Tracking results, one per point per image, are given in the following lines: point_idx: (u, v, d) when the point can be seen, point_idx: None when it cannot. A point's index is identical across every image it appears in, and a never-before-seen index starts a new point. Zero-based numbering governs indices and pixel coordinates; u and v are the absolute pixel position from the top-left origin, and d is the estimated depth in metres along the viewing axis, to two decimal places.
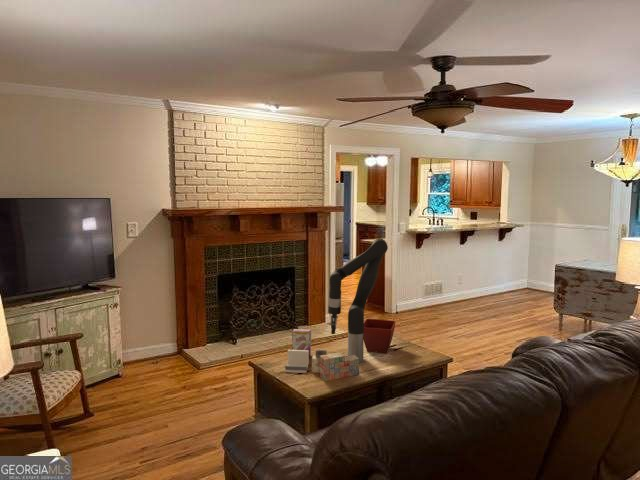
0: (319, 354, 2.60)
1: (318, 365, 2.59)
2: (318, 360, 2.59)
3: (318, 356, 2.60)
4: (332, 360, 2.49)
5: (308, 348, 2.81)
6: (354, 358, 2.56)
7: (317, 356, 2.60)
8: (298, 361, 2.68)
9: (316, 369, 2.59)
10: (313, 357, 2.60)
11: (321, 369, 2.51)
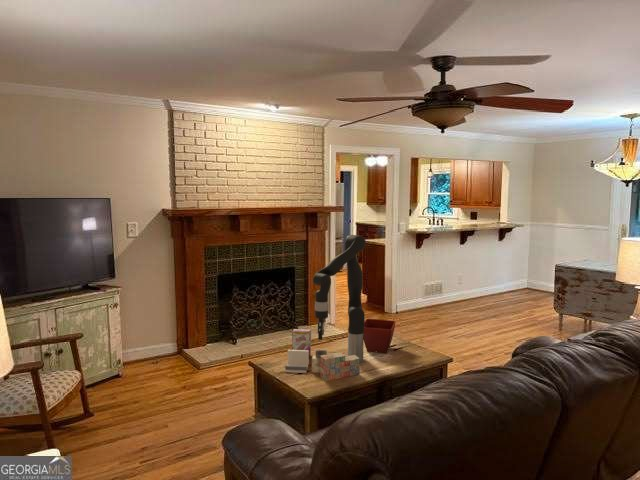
0: (319, 354, 2.60)
1: (318, 365, 2.59)
2: (318, 360, 2.59)
3: (318, 356, 2.60)
4: (333, 360, 2.49)
5: (308, 348, 2.81)
6: (354, 358, 2.56)
7: (317, 356, 2.60)
8: (298, 361, 2.68)
9: (316, 369, 2.59)
10: (313, 357, 2.60)
11: (322, 369, 2.51)
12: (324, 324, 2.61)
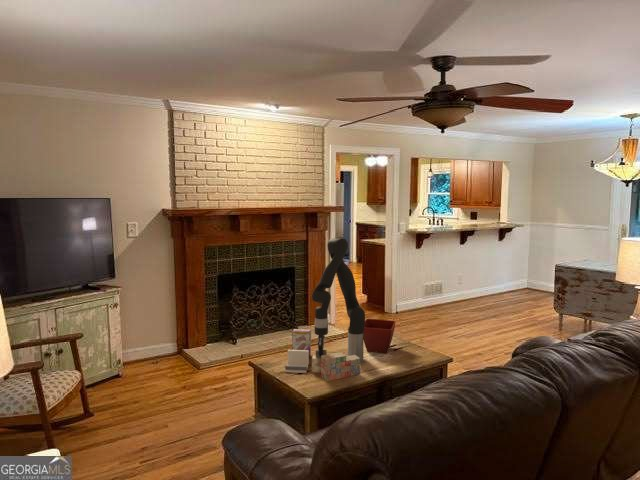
0: None
1: (318, 365, 2.59)
2: (318, 360, 2.59)
3: (318, 356, 2.60)
4: (334, 360, 2.49)
5: (308, 348, 2.81)
6: (355, 358, 2.56)
7: (317, 356, 2.60)
8: (298, 361, 2.68)
9: (316, 369, 2.59)
10: (313, 357, 2.60)
11: (322, 369, 2.51)
12: (324, 341, 2.60)
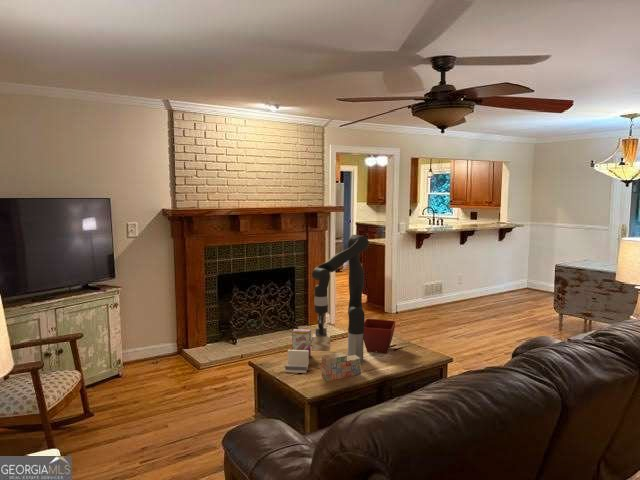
0: None
1: (318, 343, 2.57)
2: (318, 338, 2.57)
3: (318, 334, 2.58)
4: (335, 360, 2.49)
5: (308, 348, 2.81)
6: (356, 358, 2.56)
7: (317, 334, 2.59)
8: (298, 361, 2.68)
9: (316, 347, 2.58)
10: (313, 335, 2.59)
11: (323, 369, 2.51)
12: (324, 320, 2.59)
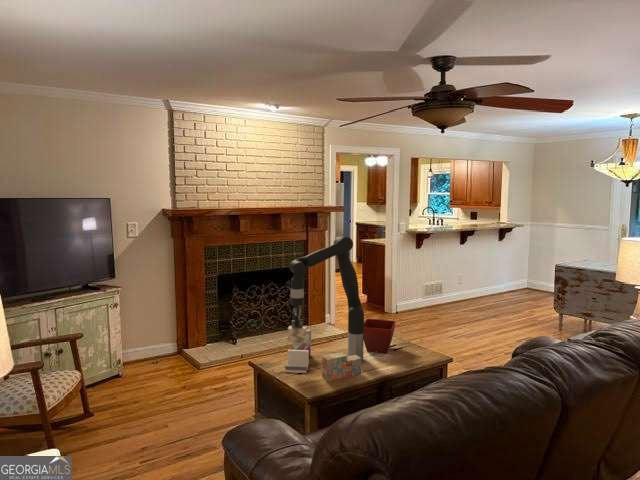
0: None
1: (294, 335, 2.61)
2: (294, 330, 2.61)
3: (294, 326, 2.62)
4: (335, 360, 2.49)
5: (308, 348, 2.81)
6: (356, 358, 2.56)
7: (293, 326, 2.62)
8: (298, 361, 2.68)
9: (292, 339, 2.61)
10: (289, 327, 2.62)
11: (324, 369, 2.51)
12: (300, 312, 2.62)
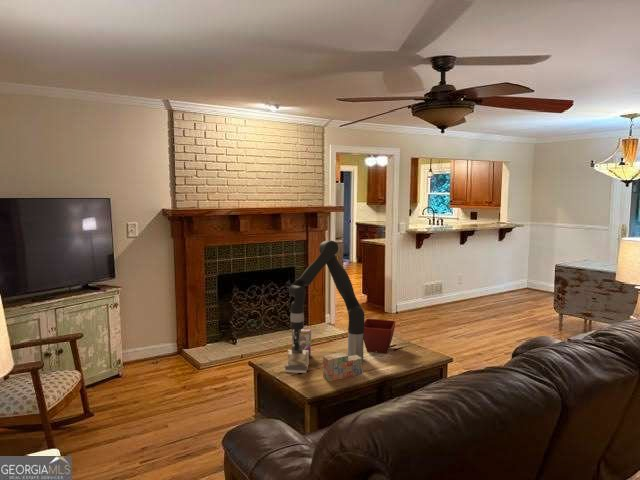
0: None
1: (294, 360, 2.63)
2: (294, 355, 2.62)
3: (294, 352, 2.64)
4: (336, 361, 2.49)
5: (308, 348, 2.81)
6: (357, 358, 2.57)
7: (293, 352, 2.64)
8: None
9: (292, 364, 2.63)
10: (289, 353, 2.64)
11: (325, 369, 2.51)
12: (300, 336, 2.64)
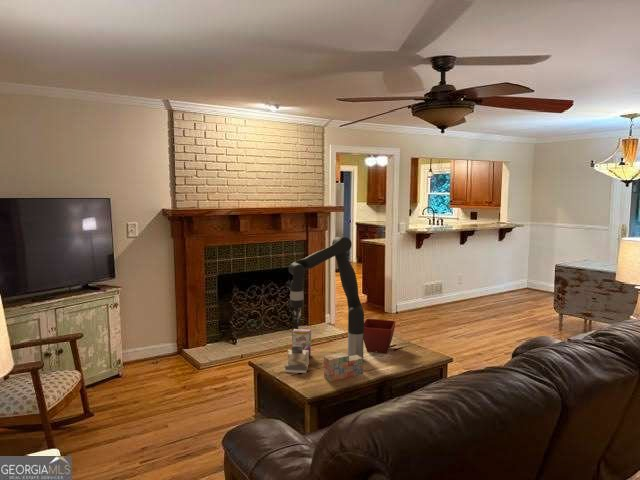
0: (295, 350, 2.64)
1: (294, 360, 2.63)
2: (294, 355, 2.62)
3: (294, 352, 2.64)
4: (337, 361, 2.49)
5: (308, 348, 2.81)
6: (358, 358, 2.57)
7: (293, 352, 2.64)
8: None
9: (292, 364, 2.63)
10: (289, 353, 2.64)
11: (325, 369, 2.51)
12: (300, 313, 2.64)
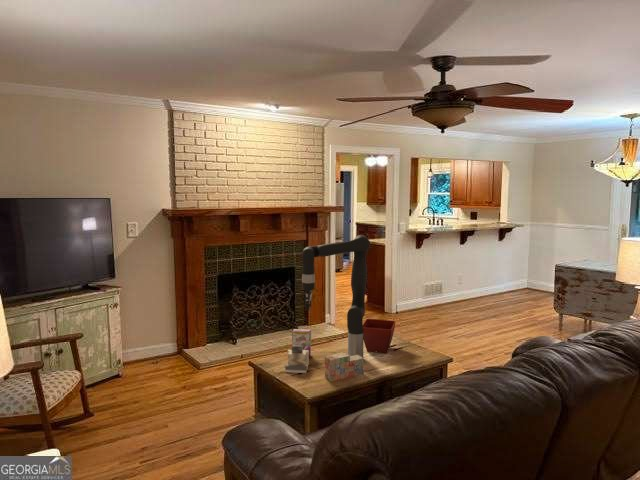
0: (295, 350, 2.64)
1: (294, 360, 2.63)
2: (294, 355, 2.62)
3: (294, 352, 2.64)
4: (338, 361, 2.49)
5: (308, 348, 2.81)
6: (358, 358, 2.57)
7: (293, 352, 2.64)
8: None
9: (292, 364, 2.63)
10: (289, 353, 2.64)
11: (326, 370, 2.50)
12: (311, 296, 2.74)
